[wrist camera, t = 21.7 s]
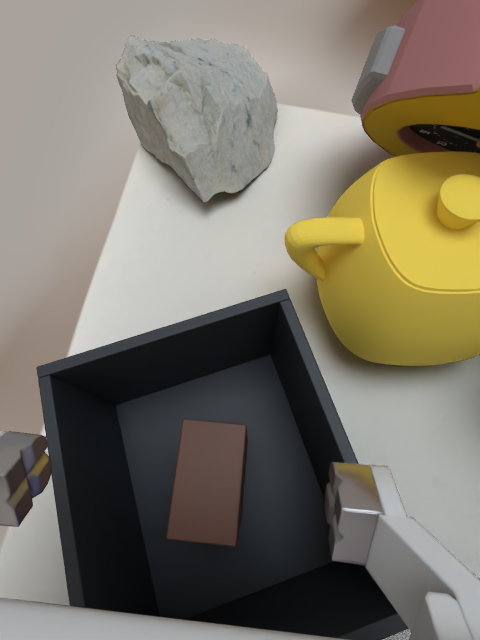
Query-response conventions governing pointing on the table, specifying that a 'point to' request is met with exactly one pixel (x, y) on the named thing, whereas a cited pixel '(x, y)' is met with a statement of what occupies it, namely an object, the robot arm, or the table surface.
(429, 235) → the teapot
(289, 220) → the table surface
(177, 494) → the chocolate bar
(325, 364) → the table surface
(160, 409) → the trash bin
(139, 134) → the rock
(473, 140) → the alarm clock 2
